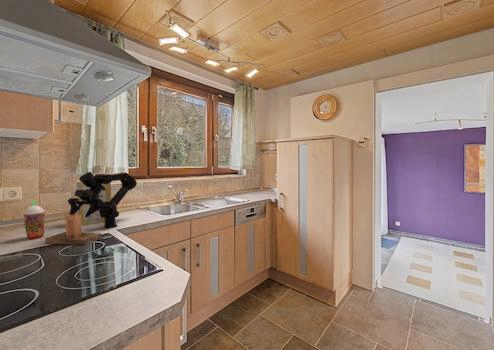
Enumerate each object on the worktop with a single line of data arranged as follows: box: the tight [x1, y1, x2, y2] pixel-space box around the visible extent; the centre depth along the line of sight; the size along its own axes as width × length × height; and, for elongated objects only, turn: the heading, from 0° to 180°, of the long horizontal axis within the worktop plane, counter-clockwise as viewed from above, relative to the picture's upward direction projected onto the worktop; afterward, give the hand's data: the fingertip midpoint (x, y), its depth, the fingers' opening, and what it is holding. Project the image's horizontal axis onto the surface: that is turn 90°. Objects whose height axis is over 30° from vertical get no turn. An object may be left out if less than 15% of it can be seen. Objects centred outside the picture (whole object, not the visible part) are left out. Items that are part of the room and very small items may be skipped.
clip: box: [64, 214, 83, 238], centre depth 115 cm, size 3×6×13 cm, turn 82°
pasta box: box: [76, 180, 112, 227], centre depth 150 cm, size 18×10×28 cm, turn 125°
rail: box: [45, 231, 102, 246], centre depth 115 cm, size 10×22×2 cm, turn 82°
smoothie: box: [23, 199, 46, 240], centre depth 119 cm, size 8×8×20 cm
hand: (77, 216), depth 117 cm, fingers open, 9 cm apart
